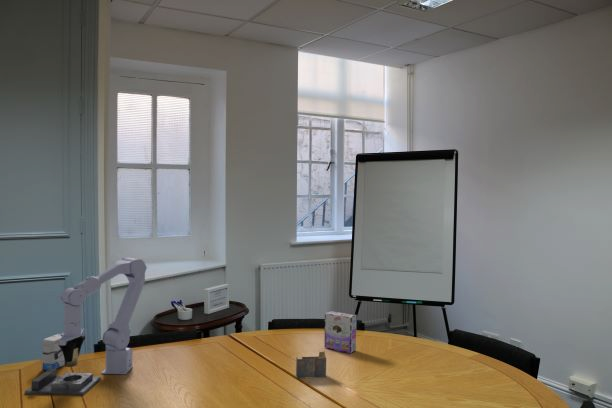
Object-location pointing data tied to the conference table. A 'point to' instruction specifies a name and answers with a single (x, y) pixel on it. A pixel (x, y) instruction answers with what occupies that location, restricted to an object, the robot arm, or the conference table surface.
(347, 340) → the candy box
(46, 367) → the ink box
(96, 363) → the conference table surface
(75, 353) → the bushing
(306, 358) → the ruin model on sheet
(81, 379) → the jig
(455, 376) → the conference table surface
